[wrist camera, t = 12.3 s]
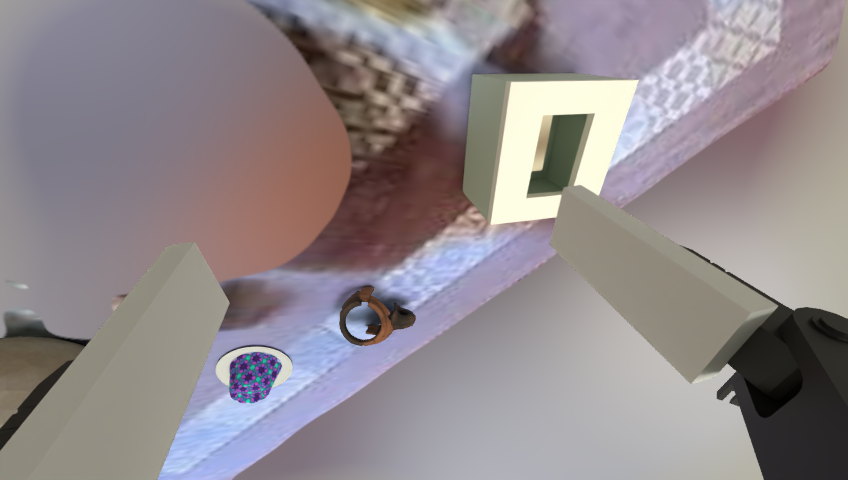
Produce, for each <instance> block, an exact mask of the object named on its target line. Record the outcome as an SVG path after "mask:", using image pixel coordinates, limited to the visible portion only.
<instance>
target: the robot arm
mask: <svg viewBox="0 0 848 480" xmlns="http://www.w3.org/2000/svg"><path fill="white" fill-rule="evenodd" d="M550 246H551V247H552V248H553V249H554V250H555V251H556V252H557V253H558V254H560V255H561V256H562V257H563V258H564V259H565V260H566V261H567V262H568V263H569V264H570V265H571V266H572V267H573V268H574V269H575V270H576V271H577V272H578V273H579V274H580V275H581V276H582V277H583V278H584V279H585V280H586V281H587V282H588V283H589V284H590V285H591V286H592V287H593V288H594V289H595V290H596V291H597V292H598V293H599V294H600V295H601V296H602V297H603V298H604V299H605V300H606V301H607V302H608V303H609V304H610V305H611V306H612V307H613V308H614V309H615V310H616V311H617V312H618V313H619V314H620V315H621V316H622V317H623V318H624V319H626V320H627V322H629V324H630V325H631V326H633V327H634V328H635V329H636V330H637V331H638V332H639V333H640V334H641V335H642V336H643V337H644V338H645V339H646V340H647V341H648V342H649V343H650V344H651V345H652V346H653V347H654V348H655V349H656V350H657V351H658V352H659V353H660V354H661V355H662V356H663V357H664V358H665V359H666V360H667V361H668V362H669V363H670V364H671V365H672V366H673V367H674V368H675V369H676V370H677V371H678V372H679V373H680V374H681V375H682V376H683V377H684V378H685V379H686V380H687V381H688V382H689V383H690V384H693V383H697V382H700V381H704V380H707V379H710V378H714V377H715V376H716V375H717V374H718V373H719V372H720V371H721V369H722V368H723V367H724V366H725V365H726V364H727V363H728V364H729V365H730V366H731V367H732V368H733V369H735V370H736V372H735V373H734V375H733V376H732V377H731V378H730V379H729V380H728V381H727V382H726V383H725V384H724V385H723V386H722V387H721V388H720V389H719V390H718V391H717V399H719V400H723V399H724V398H725V397H726V396H727V395H728V394H729V393H730V392H731V391H735V394H736V395H735V396H734V397H733V398H732V399H731V400H730V403H731V404H734V405H737V406H740V409H741V412H742V415H743V418H744V421H745V424H746V427H747V430H748V433H749V436H750V439H751V442H752V445H753V448H754V451H755V454H756V457H757V460H758V463H759V466H760V469H761V472H762V475H763V478H764V480H848V319H846V318H844V317H842V316H840V315H837V314H835V313H831V312H828V311H824V310H821V309H816V308H808V307H804V308H797V309H796V310H795V311H794V310H792V309H790V308H788V307H786V306H784V305H783V304H781V303H779V302H778V301H776V300H775V299H773V298H771V297H769V296H768V295H766V294H765V293H763V292H761V291H760V290H758V289H756V288H755V287H753V286H751V285H750V284H748V283H746V282H744V281H743V280H741V279H740V278H738V277H736V276H735V275H733V274H731V273H730V272H725V270H724V269H723V268H721V267H720V266H718V265H717V264H714V263H710V260H708V259H707V258H705V257H703V256H701V255H700V254H698V253H696V252H695V251H693V250H691V249H689V248H686V247H683V246H681V245H678V244H677V243H675V242H673V241H672V240H670V239H669V238H667V237H665V236H664V235H662V234H660V233H659V232H657V231H655V230H654V229H652V228H650V227H649V226H647V225H646V224H644V223H642V222H641V221H639V220H637V219H636V218H634V217H633V216H631V215H629V214H628V213H626V212H624V211H623V210H621V209H619V208H618V207H616V206H615V205H613V204H611V203H610V202H608V201H606V200H605V199H603V198H601V197H600V196H598V195H597V194H595V193H593V192H592V191H590V190H588V189H587V188H585V187H584V186H582V185H577V186H570V187H564V188H563V192H562V196H561V200H560V204H559V208H558V212H557V217H556V221H555V225H554V229H553V233H552V237H551V241H550ZM229 303H230V302H229V301H228V299H227V297H226V295H225V294H224V292H223V290H222V289H221V287H220V285H219V283H218V282H217V280H216V278H215V276H214V275H213V273H212V271H211V269H210V268H209V266H208V264H207V262H206V261H205V259H204V257H203V256H202V254H201V252H200V250H199V249H198V247H197V245H196V243H195V242H190V243H183V244H176V245H169V246H167V247H166V249H165V250H164V251H163V253H161V255H160V256H159V257H158V258H157V260H156V261H155V262H154V263H153V264H152V266H151V267H150V268H149V269H148V271H147V272H146V273H145V274H144V276H143V277H142V278H141V279H140V280H139V282H138V283H137V284H136V285H135V287H134V288H133V289H132V290H131V291H130V293H129V294H128V295H127V296H126V298H125V299H124V300H123V301H122V302H121V304H120V305H119V306H118V307H117V309H116V310H115V311H114V312H113V313H112V315H111V316H110V317H109V319H108V320H107V321H106V322H105V323H104V325H103V326H102V327H101V328H100V329H99V331H98V332H97V333H96V334H95V336H94V337H93V338H92V339H91V340H90V342H89V343H88V344H87V345H86V346H85V348H84V349H83V350H82V351H81V353H80V354H79V355H78V356H77V358H76V359H75V360H70V361H67V362H65V363H64V364H63V365H62V366H60V367H59V368H58V369H57V370H55V371H54V372H53V373H52V374H50V375H49V376H48V377H47V378H45V379H44V380H43V381H42V382H40V383H39V384H38V385H37V386H36V388H35V389H34V390H33V391H32V392H31V393H30V395H29V396H28V397H27V398H26V399H25V400H24V402H23V403H22V404H21V405H20V406H19V407H18V408H17V410H18V412H17V413H16V414H12V415H11V417H10V418H9V419H8V420H7V421H6V422H5V424H4V425H3V426H2V427H1V428H0V480H157V479H158V477H159V474H160V472H161V469H162V467H163V464H164V462H165V460H166V457H167V455H168V452H169V450H170V447H171V445H172V442H173V440H174V438H175V435H176V433H177V430H178V428H179V425H180V423H181V420H182V418H183V416H184V413H185V411H186V408H187V406H188V403H189V401H190V398H191V396H192V394H193V391H194V389H195V386H196V384H197V381H198V379H199V376H200V374H201V372H202V369H203V367H204V364H205V362H206V359H207V357H208V354H209V352H210V350H211V347H212V345H213V342H214V340H215V337H216V335H217V332H218V330H219V328H220V325H221V323H222V320H223V318H224V315H225V313H226V311H227V308H228V306H229Z"/></svg>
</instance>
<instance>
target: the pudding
mask: <svg viewBox="0 0 848 480" xmlns="http://www.w3.org/2000/svg"><path fill="white" fill-rule="evenodd" d="M248 352H254V353H252V354H244V353H248ZM262 352H265V353H269V354H272V355H265V354H264V353H262ZM241 354H243V355H241ZM239 355H240V356H239ZM273 355H274V356H273ZM237 356H238V357H237ZM275 356H276V357H277V358H278V359H279V360H280V361H281V363H282V365H281V363H279V362H277V358H276V357H275ZM236 357H237V360H236V361H233V362H231V361H232V360H233V359H234V358H236ZM230 363H231V364H230ZM229 365H230V371H229ZM281 367H282V370H281V372H280V373H279V371H280V369H281ZM292 369H293V366H292V362H291V360H290V359H289V358H288V357H287V356H286V355H285V354H283V353H282V352H280V351H277V350H275V349H271V348H266V347H246V348H241V349H237V350H234V351H232V352H230V353H228V354H226V355H225V356H223V357H222V358H221V359H220V360H219V361H218V363H217V365H216V374H217V377H218V378H219V379H220V381H222V382H223V383H224V384H226V385H228V386H229V392H230V396H231V398H232V399H234V400H238V401H239V402H240V403H247V402H249V403H255V402H258V401H259V400H262V399H264V398H266V397H267V395H268V394H269V392H270V390H271V388H273V387H276V386H278V385H280V384H282V383H283V382H284V381H286V380H287V379H288V378H289V376H290V375H291V373H292Z"/></svg>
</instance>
